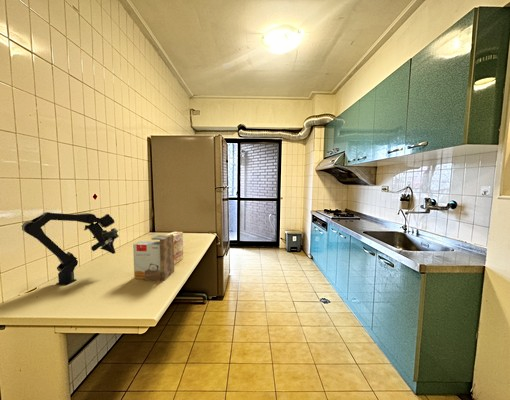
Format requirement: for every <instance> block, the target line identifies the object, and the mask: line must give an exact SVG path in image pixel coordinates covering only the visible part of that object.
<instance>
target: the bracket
mask: <svg viewBox="0 0 510 400" xmlns="http://www.w3.org/2000/svg"><path fill="white" fill-rule="evenodd" d="M152 240H154V241H155V240H156V241H158V240H159V242H160V266H161V271H151V270H146V271H145V279H144V280H145V281H157V282H159V281H160V282H161V281H166V280H167V279H168V278H170V276H171V275H172V274H173V273H175V264H174V245H173V234H170V235H167V234H163V235H162V234H159V235H156V236H153V237H151V241H152Z"/></svg>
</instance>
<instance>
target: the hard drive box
mask: <svg viewBox="0 0 510 400" xmlns="http://www.w3.org/2000/svg"><path fill="white" fill-rule="evenodd" d="M132 248H133V270H134V271H133V275H134V276H133V278H134V279H140V280H143V279H144V280H145V271H146V270H151V271H161V266H160V240H159V241H158V240H156V241H155V240H154V241H152V240H151V241H150V240H145V241H143V240H139V241H137V242H135V243H133V247H132Z"/></svg>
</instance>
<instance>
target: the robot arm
mask: <svg viewBox="0 0 510 400" xmlns="http://www.w3.org/2000/svg"><path fill="white" fill-rule="evenodd" d="M50 221H62V222H63V221H64V222H80V223H84V224H85V225H84V229H83V231H87V230H88V231H89V232H90V233H91V234H92V235H93V237H92V238H93V239H96V240H97V242H96V243H95V244H93V245H91V247H90V249H91V251H92V252H95V251H97V250H98V249H100V250H103V251H106V252H108V253H111V254H112V255H114V254H116V249H115V247H114V242H115V240H116V239H117V238H119V237H120V235H119V234H118V232H119V230H118V229H117V228H115V227H113V228H111V229H110V231H109V230H107V229H106V228H108V227H110V226H112V225H113V224H115V223H116V222H115V220H114V218H113V217H112V216H111V215H110V214H108V213H106V214H105V215H103V216H101V217H97V216H96V215H95V214H94V213H90V212H84V213H83V212H82V213H76V214H75V213H64V212H63V213H60V212H49V211H46V212H44V213H42V214H41V215H39V216H37V217H36V218H35V217H34V218H33V219H31V220H28V221H24V222H23V223H22V224H23V225H21V227H22V229H21V231H23V232H24V233H26V234H27V235H29V236H31V237H33V238H34V239H36V240H37V241H38V242H40V244H42V245H43V246H44V247H45V248H46V249H48V251H49V252H51V253H52V254H53V255H54V256H55V257H56V258H57V259H58V261H59V263H60V264H58V266H57V267H56V270H57V271H58V273H57V277H58V281H57V282H56V283H55V285H59V286H60V285H61V286H67V285H69V284H70V285H71V284H72V283H73V282H76V281H77V278H75V268H76V267H77V266H78V265H79V264H78V263H79V261H78V260H77V259H78V257H77V256H75V255H74V254H73V253H71V252H70V251H68V252H65V251H64V250H63V249H62V248H61V247H59V246H58V245H57V244H56V242H54V241H53V240H52V239H50V237H48V236H47V235H46V233H45V232H44V230H43V228H42V227H45V225H46V224H47V223H49V222H50Z"/></svg>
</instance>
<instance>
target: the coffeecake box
mask: <svg viewBox="0 0 510 400" xmlns="http://www.w3.org/2000/svg"><path fill="white" fill-rule="evenodd" d="M183 233H184V231H172V232H170V233H169V232H168V233H167V234H166V235H170V234H173V245H174V265H176V264H178V263H180V262H181V261H182V260H184V235H183Z"/></svg>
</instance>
